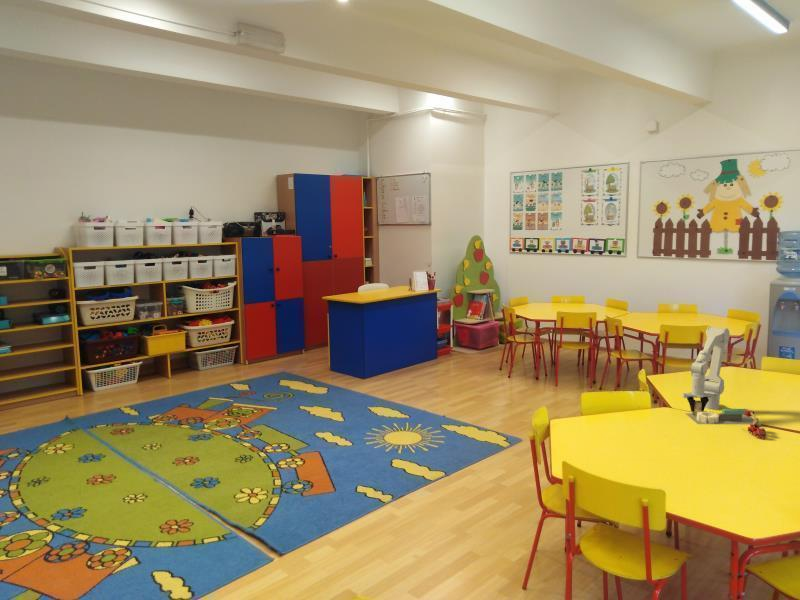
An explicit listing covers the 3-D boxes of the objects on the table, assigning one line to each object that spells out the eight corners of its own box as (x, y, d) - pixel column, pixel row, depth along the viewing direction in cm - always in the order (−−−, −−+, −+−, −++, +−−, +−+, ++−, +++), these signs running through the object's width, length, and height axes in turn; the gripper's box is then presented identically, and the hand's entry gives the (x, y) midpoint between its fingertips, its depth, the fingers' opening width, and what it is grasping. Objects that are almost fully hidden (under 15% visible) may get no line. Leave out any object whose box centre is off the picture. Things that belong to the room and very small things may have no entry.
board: (685, 415, 312) (685, 407, 311) (746, 415, 309) (746, 407, 308) (697, 426, 296) (697, 417, 295) (761, 426, 293) (762, 418, 292)
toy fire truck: (759, 439, 277) (760, 419, 276) (743, 429, 291) (744, 409, 289) (766, 439, 277) (767, 419, 276) (750, 429, 291) (751, 409, 289)
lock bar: (721, 412, 301) (722, 408, 301) (747, 412, 300) (747, 408, 300) (724, 414, 298) (724, 410, 298) (749, 414, 297) (749, 410, 297)
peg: (691, 413, 311) (691, 400, 310) (699, 413, 311) (700, 400, 310) (694, 416, 307) (694, 402, 306) (702, 416, 307) (703, 402, 306)
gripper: (686, 387, 304) (685, 413, 305) (716, 387, 302) (715, 413, 304) (681, 383, 310) (680, 409, 312) (710, 383, 309) (709, 409, 311)
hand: (697, 411), depth 309 cm, fingers closed on peg, 4 cm apart
